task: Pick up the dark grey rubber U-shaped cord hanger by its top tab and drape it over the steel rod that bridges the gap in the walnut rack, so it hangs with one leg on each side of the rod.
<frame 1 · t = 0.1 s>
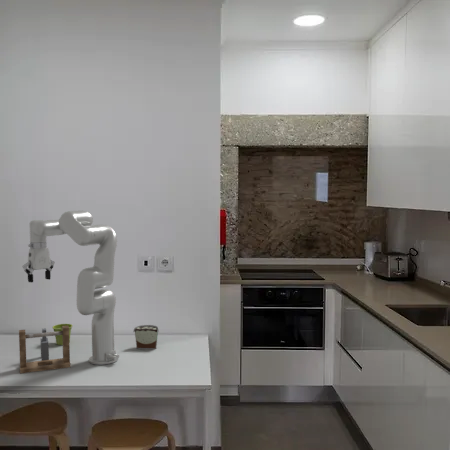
hand: (39, 280, 259), 31 cm above the table, tool pointing down, fingers open, 9 cm apart
hanger: (44, 359, 237), on the table
food container: (147, 347, 255), on the table
plant pot: (63, 343, 261), on the table
rack: (45, 366, 227), on the table
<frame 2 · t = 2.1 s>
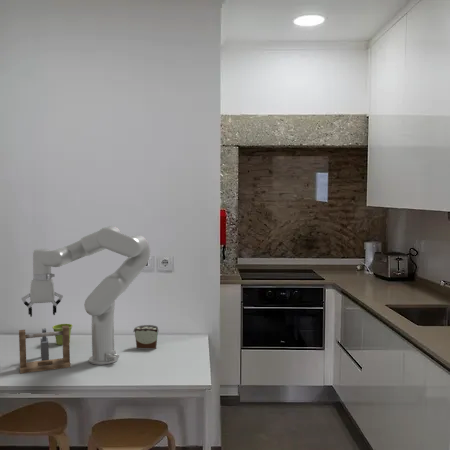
hand: (42, 315, 236), 20 cm above the table, tool pointing down, fingers open, 9 cm apart
nothing on the table moved.
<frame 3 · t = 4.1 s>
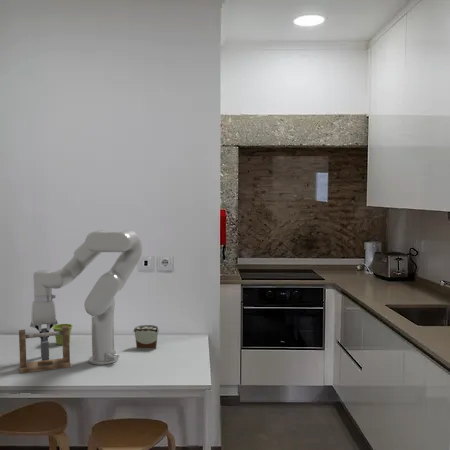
hand: (44, 339, 237), 9 cm above the table, tool pointing down, fingers closed on hanger
hanger: (45, 358, 237), on the table, touching gripper
everything else where it was.
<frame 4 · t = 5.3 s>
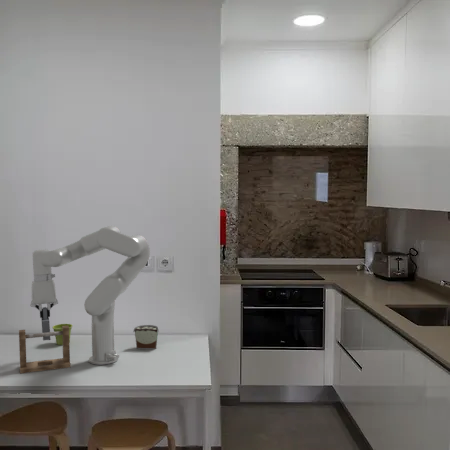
hand: (45, 318, 236), 18 cm above the table, tool pointing down, fingers closed on hanger
hanger: (46, 337, 237), point 10 cm above the table, touching gripper
everything else where it was.
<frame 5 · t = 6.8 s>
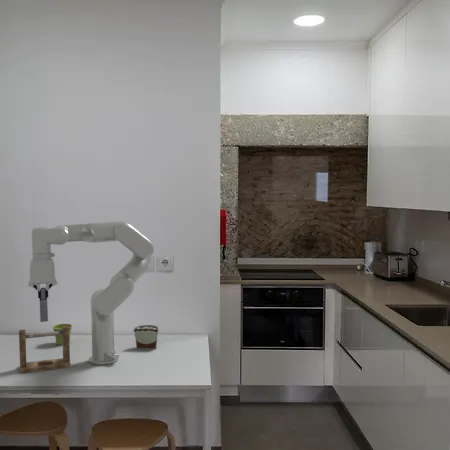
hand: (43, 299, 226), 29 cm above the table, tool pointing down, fingers closed on hanger
hanger: (44, 319, 226), point 20 cm above the table, touching gripper
everything else where it was.
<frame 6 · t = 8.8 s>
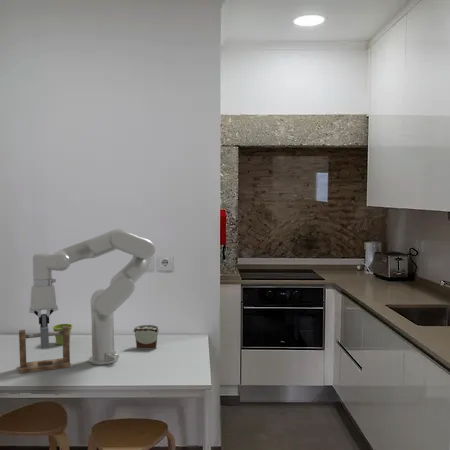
hand: (44, 325, 226), 18 cm above the table, tool pointing down, fingers closed on hanger
hanger: (44, 345, 226), point 9 cm above the table, touching gripper
everything else where it was.
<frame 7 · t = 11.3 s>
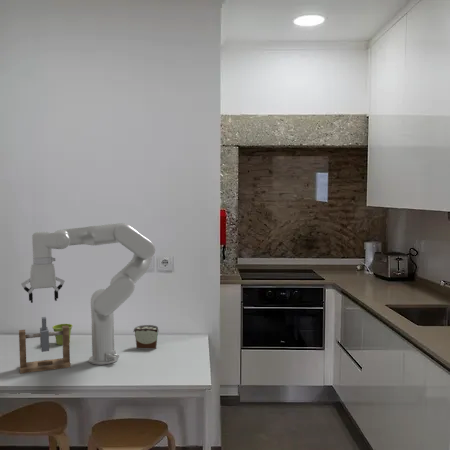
hand: (43, 301, 225), 28 cm above the table, tool pointing down, fingers open, 9 cm apart
hanger: (44, 349, 227), point 8 cm above the table, touching rack
everything else where it was.
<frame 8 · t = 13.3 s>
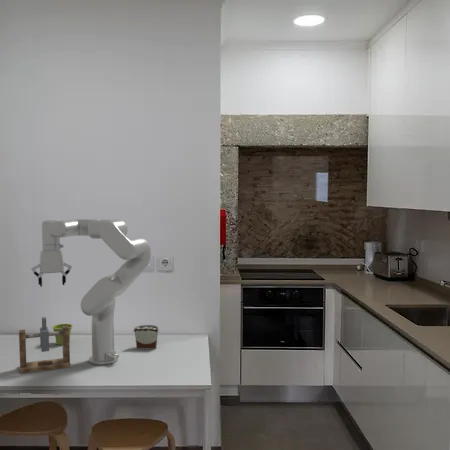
hand: (52, 285, 240), 32 cm above the table, tool pointing down, fingers open, 9 cm apart
nothing on the table moved.
at the end: hanger inside the target area on the rack (0.0 cm from its centre), point 7.8 cm above the rack's base; hanger touching rack; the gripper is holding nothing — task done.
